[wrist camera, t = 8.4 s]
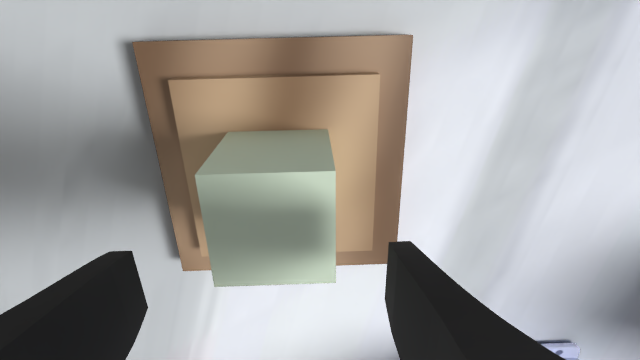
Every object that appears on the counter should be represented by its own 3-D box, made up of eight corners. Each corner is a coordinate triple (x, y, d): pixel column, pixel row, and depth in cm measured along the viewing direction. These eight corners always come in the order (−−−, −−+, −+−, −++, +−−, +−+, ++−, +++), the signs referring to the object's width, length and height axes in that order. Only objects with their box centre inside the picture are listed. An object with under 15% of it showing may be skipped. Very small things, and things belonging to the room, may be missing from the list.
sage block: (327, 129, 16) (335, 170, 11) (328, 216, 18) (335, 282, 13) (227, 131, 16) (194, 174, 11) (239, 218, 18) (214, 286, 13)
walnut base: (406, 34, 16) (418, 35, 14) (390, 250, 21) (398, 272, 19) (144, 41, 16) (123, 43, 14) (189, 258, 21) (178, 280, 19)
